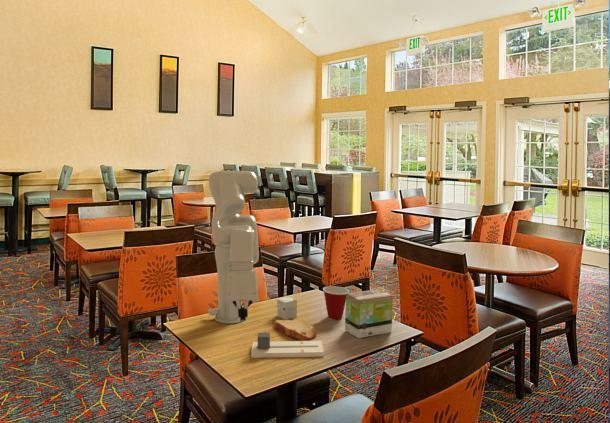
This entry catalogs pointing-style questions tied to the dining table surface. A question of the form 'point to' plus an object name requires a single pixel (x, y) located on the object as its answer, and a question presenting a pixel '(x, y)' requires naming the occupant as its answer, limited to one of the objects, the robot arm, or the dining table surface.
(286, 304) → the skincare box
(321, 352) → the console board
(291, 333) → the bread slice
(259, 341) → the slider tab
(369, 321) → the tea box
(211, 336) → the dining table surface
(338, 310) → the plastic cup
